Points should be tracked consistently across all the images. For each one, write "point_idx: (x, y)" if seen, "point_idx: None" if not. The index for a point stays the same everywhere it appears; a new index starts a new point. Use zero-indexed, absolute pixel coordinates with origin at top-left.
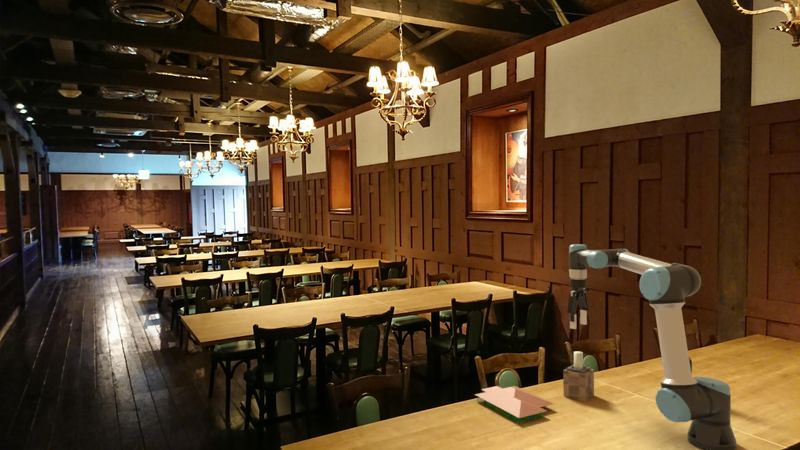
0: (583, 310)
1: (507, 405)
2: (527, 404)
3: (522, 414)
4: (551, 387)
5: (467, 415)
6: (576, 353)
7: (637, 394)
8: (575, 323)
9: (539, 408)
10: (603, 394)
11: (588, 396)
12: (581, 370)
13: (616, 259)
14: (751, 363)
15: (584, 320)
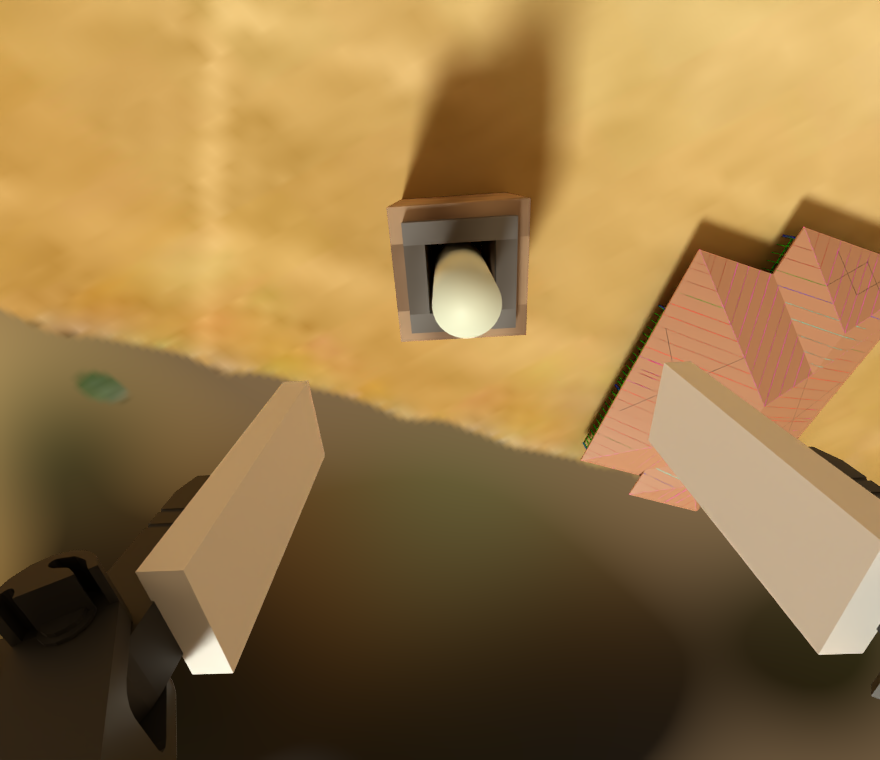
0: (198, 622)
1: (845, 365)
2: (840, 303)
3: None
4: (440, 380)
5: (872, 437)
6: (501, 303)
7: (215, 15)
8: (749, 408)
9: (818, 256)
10: (356, 169)
11: (466, 195)
12: (504, 236)
13: None
14: None
15: (290, 439)
